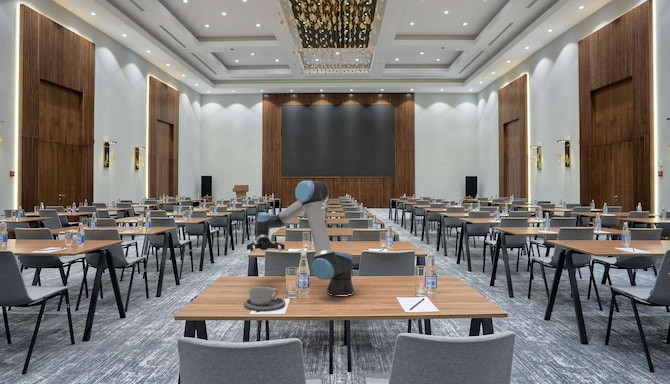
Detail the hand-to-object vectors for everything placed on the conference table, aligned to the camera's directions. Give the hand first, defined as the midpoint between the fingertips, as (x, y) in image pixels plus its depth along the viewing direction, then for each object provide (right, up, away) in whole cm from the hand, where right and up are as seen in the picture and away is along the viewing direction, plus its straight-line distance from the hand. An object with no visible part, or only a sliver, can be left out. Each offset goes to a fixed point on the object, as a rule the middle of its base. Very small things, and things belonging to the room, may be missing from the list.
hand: (267, 250), depth 217 cm
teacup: (+1, -25, -15) cm, 29 cm away
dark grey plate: (+1, -26, -12) cm, 28 cm away
